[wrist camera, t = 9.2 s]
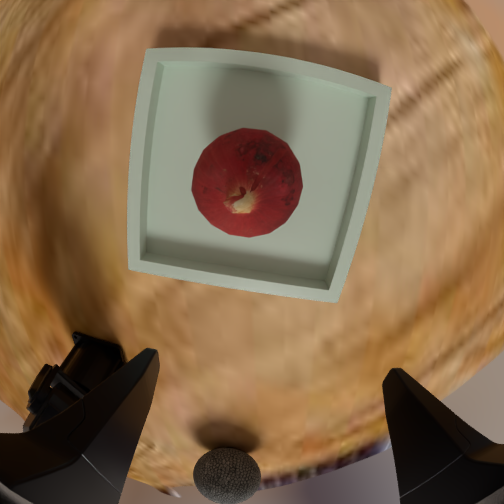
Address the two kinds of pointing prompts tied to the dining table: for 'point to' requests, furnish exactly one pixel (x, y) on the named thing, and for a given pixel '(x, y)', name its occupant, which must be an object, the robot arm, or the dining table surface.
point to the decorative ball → (227, 475)
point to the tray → (264, 118)
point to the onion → (247, 182)
